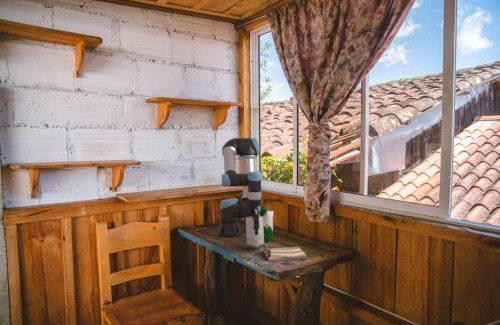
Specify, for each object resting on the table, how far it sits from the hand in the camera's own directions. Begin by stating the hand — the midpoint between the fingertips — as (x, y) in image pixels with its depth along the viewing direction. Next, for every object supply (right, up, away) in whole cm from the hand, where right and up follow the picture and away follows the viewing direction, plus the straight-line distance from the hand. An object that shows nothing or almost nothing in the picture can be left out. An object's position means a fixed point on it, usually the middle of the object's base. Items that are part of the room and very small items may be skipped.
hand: (254, 237), depth 206 cm
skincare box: (0, -4, 0) cm, 4 cm away
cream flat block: (+16, -7, -12) cm, 21 cm away
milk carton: (+7, -5, +17) cm, 19 cm away
